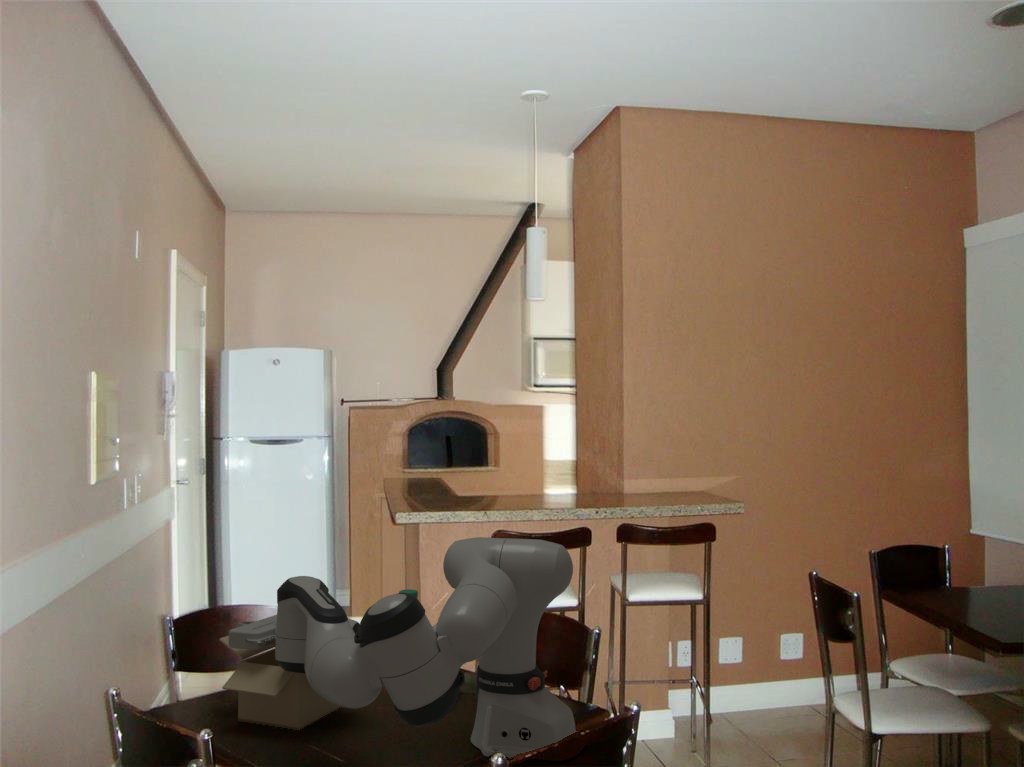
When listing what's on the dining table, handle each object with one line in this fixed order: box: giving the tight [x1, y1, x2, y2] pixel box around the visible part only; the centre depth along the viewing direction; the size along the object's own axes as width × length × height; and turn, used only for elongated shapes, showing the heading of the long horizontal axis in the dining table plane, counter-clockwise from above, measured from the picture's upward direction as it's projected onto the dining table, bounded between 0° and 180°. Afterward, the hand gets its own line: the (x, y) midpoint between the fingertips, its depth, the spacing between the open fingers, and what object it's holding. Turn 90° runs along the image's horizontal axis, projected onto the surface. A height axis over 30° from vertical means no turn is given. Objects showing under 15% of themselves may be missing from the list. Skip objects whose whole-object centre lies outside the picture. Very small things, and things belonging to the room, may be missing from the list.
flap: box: [218, 635, 275, 661], centre depth 194 cm, size 7×13×1 cm
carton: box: [221, 648, 342, 731], centre depth 189 cm, size 21×27×12 cm
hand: (240, 626), depth 195 cm, fingers closed
